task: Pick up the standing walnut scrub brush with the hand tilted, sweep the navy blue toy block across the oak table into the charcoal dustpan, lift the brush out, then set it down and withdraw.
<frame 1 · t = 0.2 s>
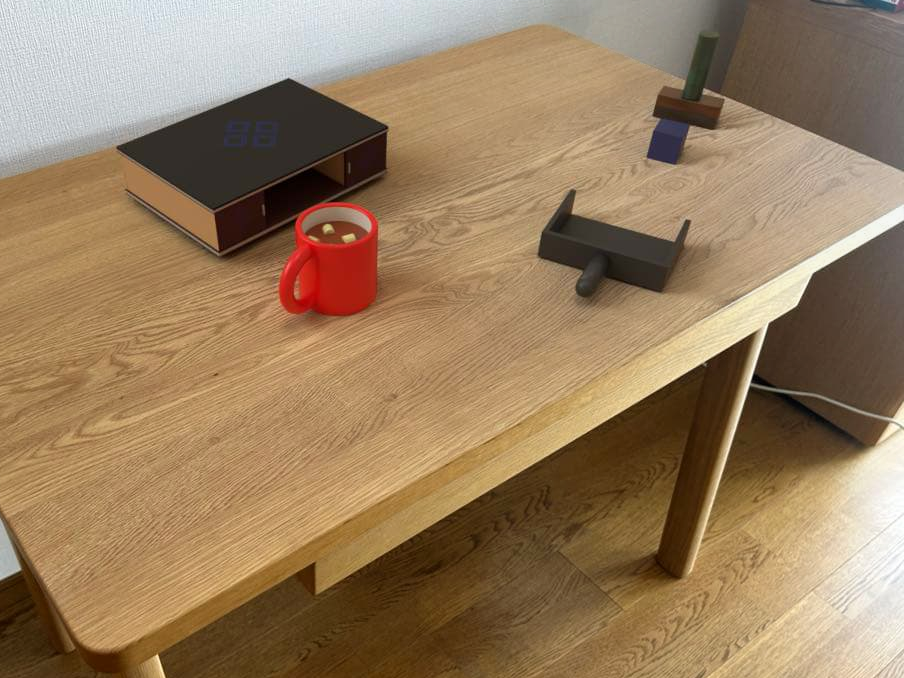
brush: (685, 118, 115), on the table
low tv stand: (259, 190, 101), on the table
mug: (325, 302, 87), on the table
navy blue toy block: (664, 154, 108), on the table
dustpan: (611, 250, 93), on the table
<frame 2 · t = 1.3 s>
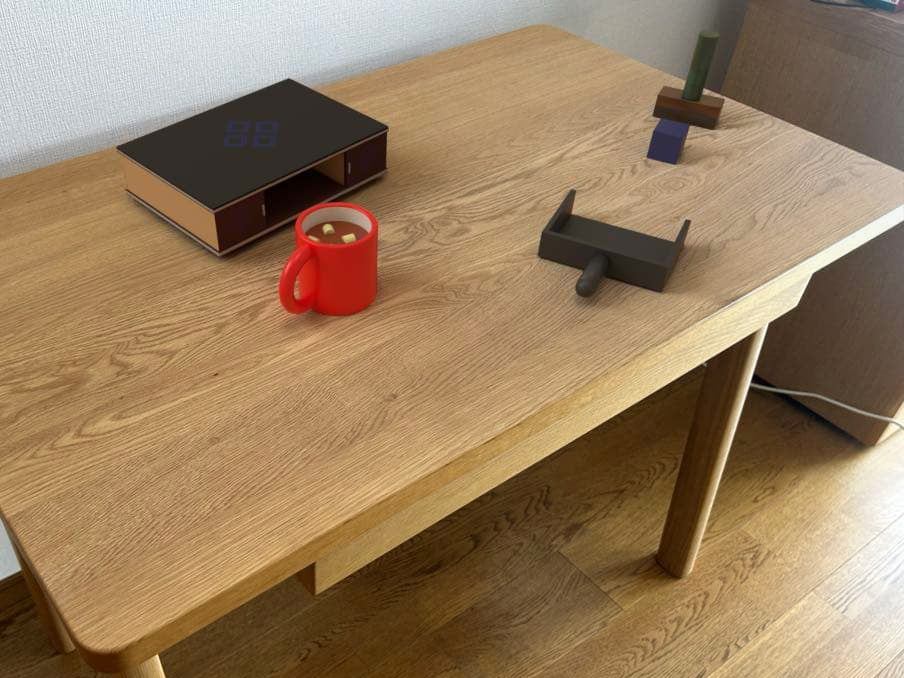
nothing on the table moved.
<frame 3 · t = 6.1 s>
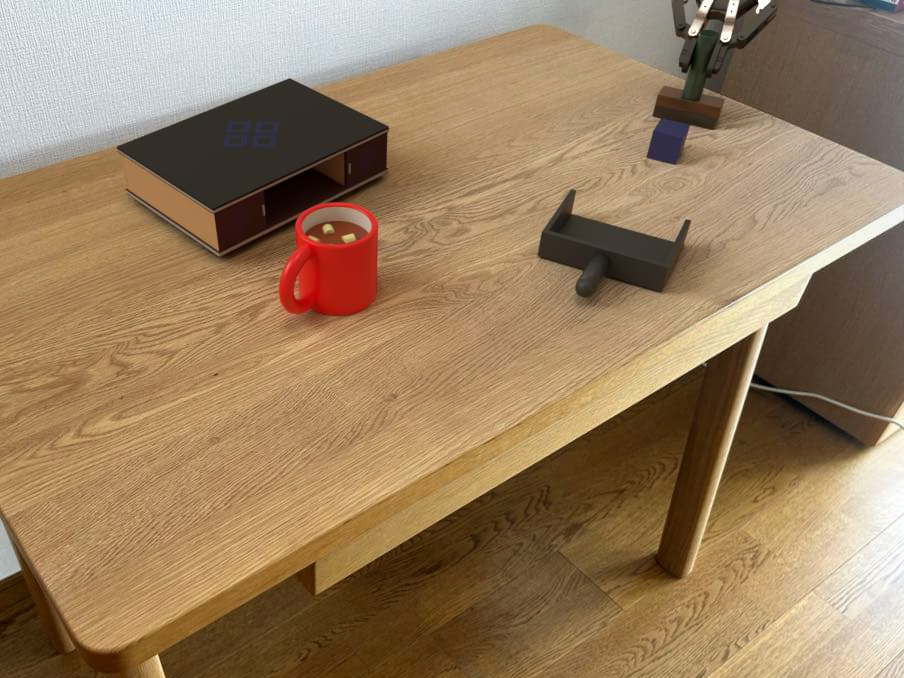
hand: (696, 72, 108), 7 cm above the table, tool tilted 45°, fingers closed on brush, 2 cm apart
brush: (685, 118, 115), on the table, touching gripper
everything else where it was.
when the fingers open (5 cm above the table, at t = 23.4 s): brush moves 1 cm and tips over, point 2 cm above the table.
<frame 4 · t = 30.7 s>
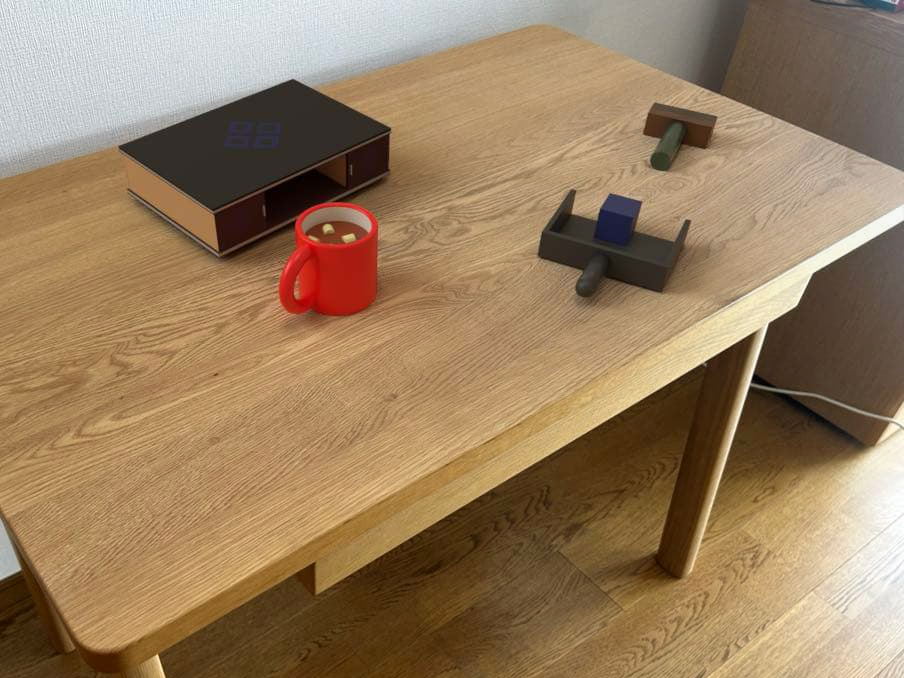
brush: (682, 120, 111), point 2 cm above the table, tilted 92°
navy blue toy block: (622, 211, 95), point 2 cm above the table, tilted 90°, touching dustpan
everything else where it was.
at the end: navy blue toy block inside the target area in the dustpan (4.8 cm from its centre), point 2.0 cm above the dustpan's base; the gripper is holding nothing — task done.
